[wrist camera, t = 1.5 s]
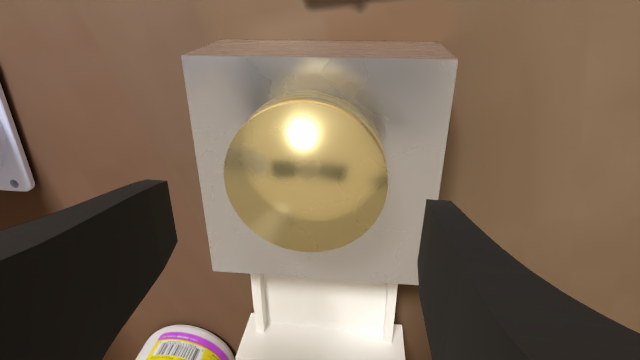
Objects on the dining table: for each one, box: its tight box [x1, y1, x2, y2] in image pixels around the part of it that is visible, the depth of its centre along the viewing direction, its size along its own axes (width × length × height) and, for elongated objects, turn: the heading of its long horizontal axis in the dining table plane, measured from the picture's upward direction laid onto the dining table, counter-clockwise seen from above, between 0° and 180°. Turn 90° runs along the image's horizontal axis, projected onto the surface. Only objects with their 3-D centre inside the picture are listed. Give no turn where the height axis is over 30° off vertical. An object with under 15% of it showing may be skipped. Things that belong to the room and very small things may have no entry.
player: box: [181, 39, 458, 285], centre depth 18 cm, size 10×10×6 cm
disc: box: [224, 90, 388, 252], centre depth 14 cm, size 5×5×2 cm
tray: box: [235, 274, 405, 360], centre depth 23 cm, size 10×10×4 cm
